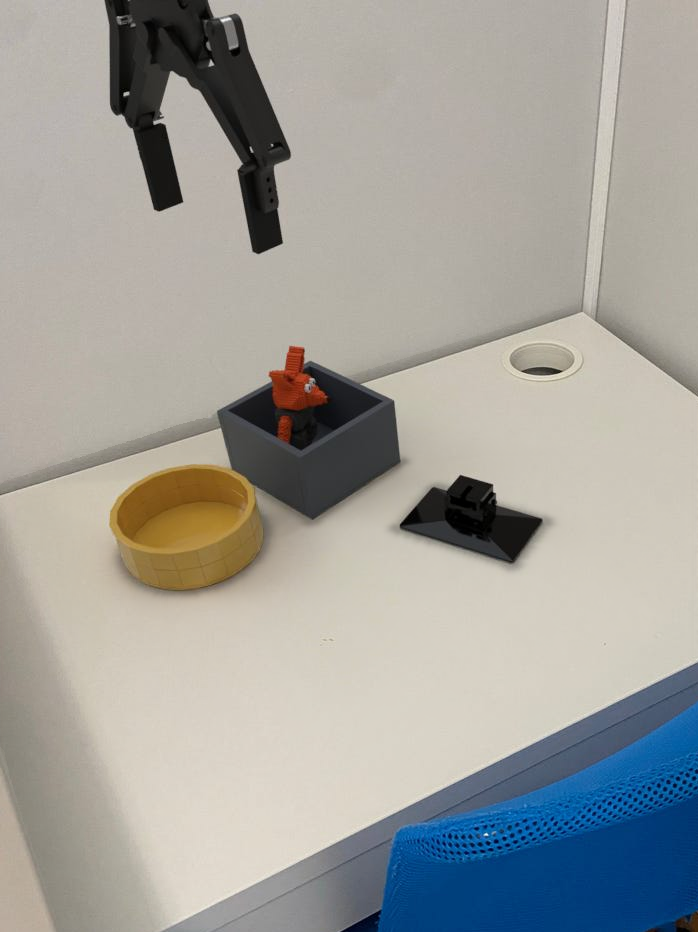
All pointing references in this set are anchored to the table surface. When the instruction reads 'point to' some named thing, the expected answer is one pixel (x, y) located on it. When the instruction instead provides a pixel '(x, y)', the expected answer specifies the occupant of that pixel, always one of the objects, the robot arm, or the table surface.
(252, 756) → the table surface
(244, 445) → the bin
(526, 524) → the build plate
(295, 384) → the toy animal
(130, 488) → the bowl
